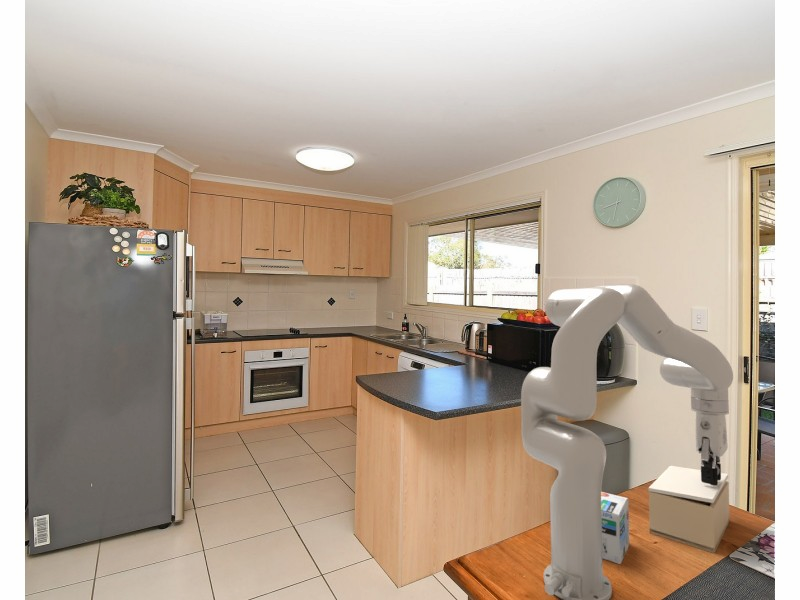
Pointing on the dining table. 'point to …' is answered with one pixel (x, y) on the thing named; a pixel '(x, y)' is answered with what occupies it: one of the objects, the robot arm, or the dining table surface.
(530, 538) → the dining table surface
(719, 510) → the beige box
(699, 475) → the flap
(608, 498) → the light bulb box
